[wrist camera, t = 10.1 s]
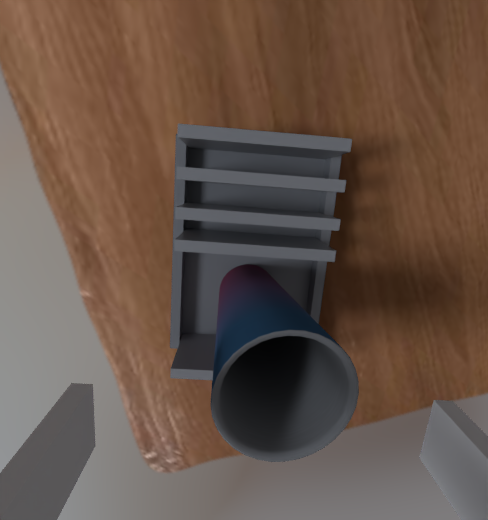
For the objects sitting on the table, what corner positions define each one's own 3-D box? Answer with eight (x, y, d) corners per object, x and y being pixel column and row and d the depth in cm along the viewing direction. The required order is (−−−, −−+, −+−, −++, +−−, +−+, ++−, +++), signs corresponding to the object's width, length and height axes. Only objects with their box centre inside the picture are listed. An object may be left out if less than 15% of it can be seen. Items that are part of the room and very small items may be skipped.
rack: (181, 138, 27) (163, 122, 20) (332, 151, 28) (365, 140, 21) (175, 334, 31) (158, 377, 24) (307, 341, 32) (328, 385, 25)
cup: (296, 269, 29) (384, 356, 14) (266, 335, 30) (321, 476, 16) (225, 242, 28) (245, 308, 13) (198, 312, 29) (188, 442, 14)
